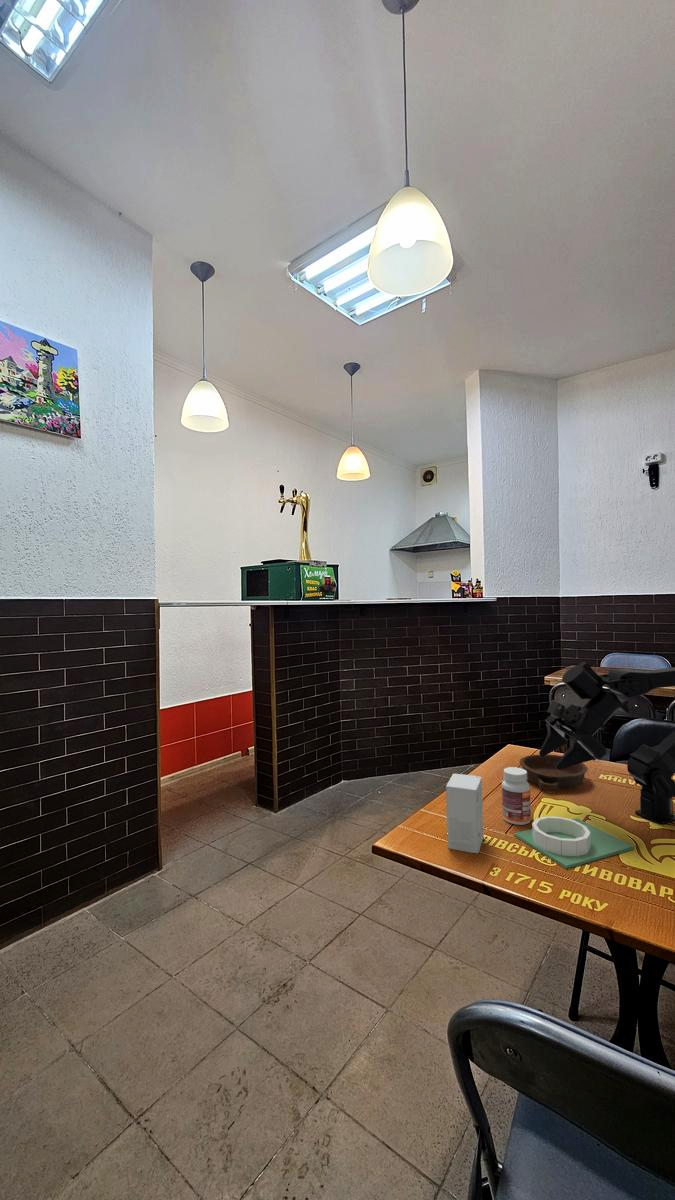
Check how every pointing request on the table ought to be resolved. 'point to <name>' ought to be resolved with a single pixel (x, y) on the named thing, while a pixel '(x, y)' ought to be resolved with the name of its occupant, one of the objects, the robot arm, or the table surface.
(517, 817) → the pill bottle
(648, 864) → the table surface
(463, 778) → the small box
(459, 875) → the table surface
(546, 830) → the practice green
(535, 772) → the dish
